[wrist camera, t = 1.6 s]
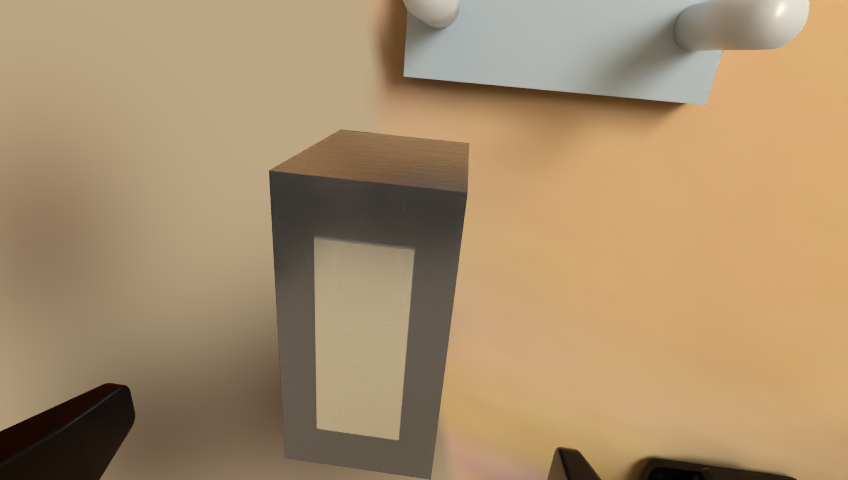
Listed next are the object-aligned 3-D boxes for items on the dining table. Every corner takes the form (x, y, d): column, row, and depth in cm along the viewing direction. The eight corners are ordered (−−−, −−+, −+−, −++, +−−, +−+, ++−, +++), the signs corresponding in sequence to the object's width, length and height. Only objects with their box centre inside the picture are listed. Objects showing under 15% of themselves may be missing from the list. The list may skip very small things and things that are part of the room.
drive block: (442, 355, 19) (430, 482, 13) (339, 341, 19) (283, 460, 13) (468, 142, 15) (467, 193, 10) (341, 129, 15) (267, 171, 10)
